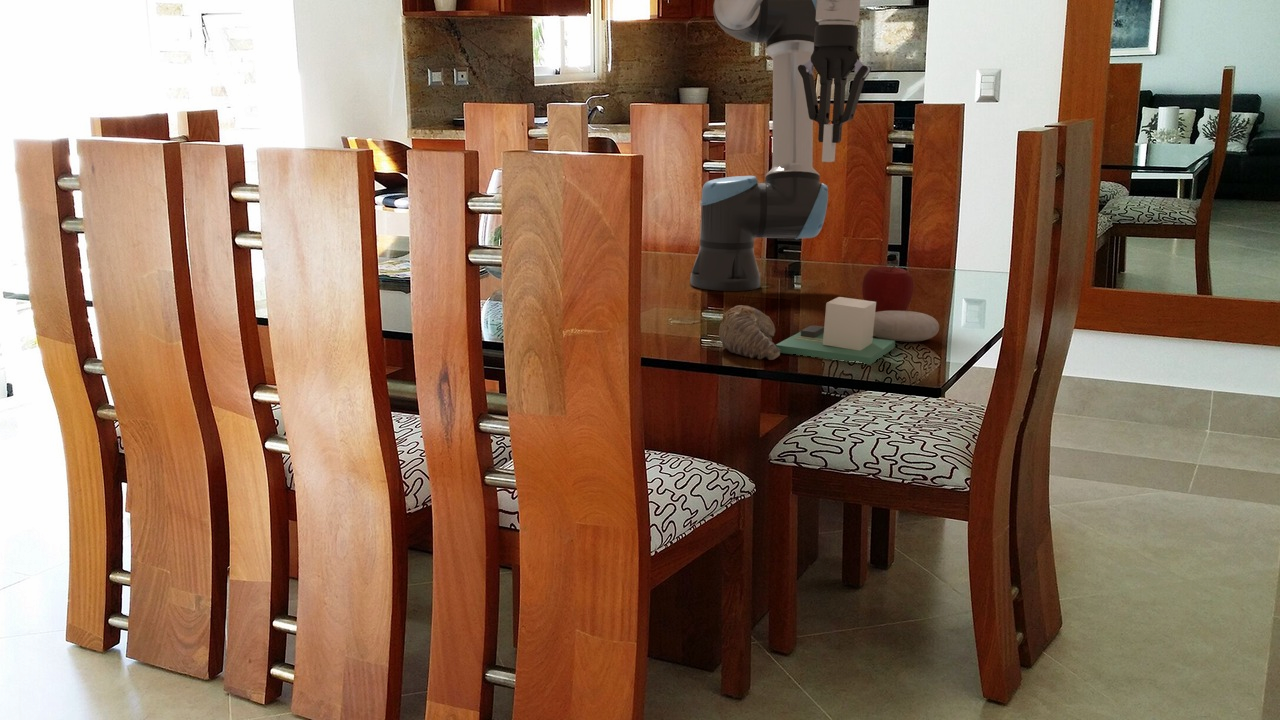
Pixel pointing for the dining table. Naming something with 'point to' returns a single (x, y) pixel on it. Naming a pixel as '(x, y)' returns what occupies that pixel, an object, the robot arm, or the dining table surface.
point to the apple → (888, 288)
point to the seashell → (748, 333)
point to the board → (832, 347)
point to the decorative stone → (904, 326)
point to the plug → (849, 323)
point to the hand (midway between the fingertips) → (828, 161)
